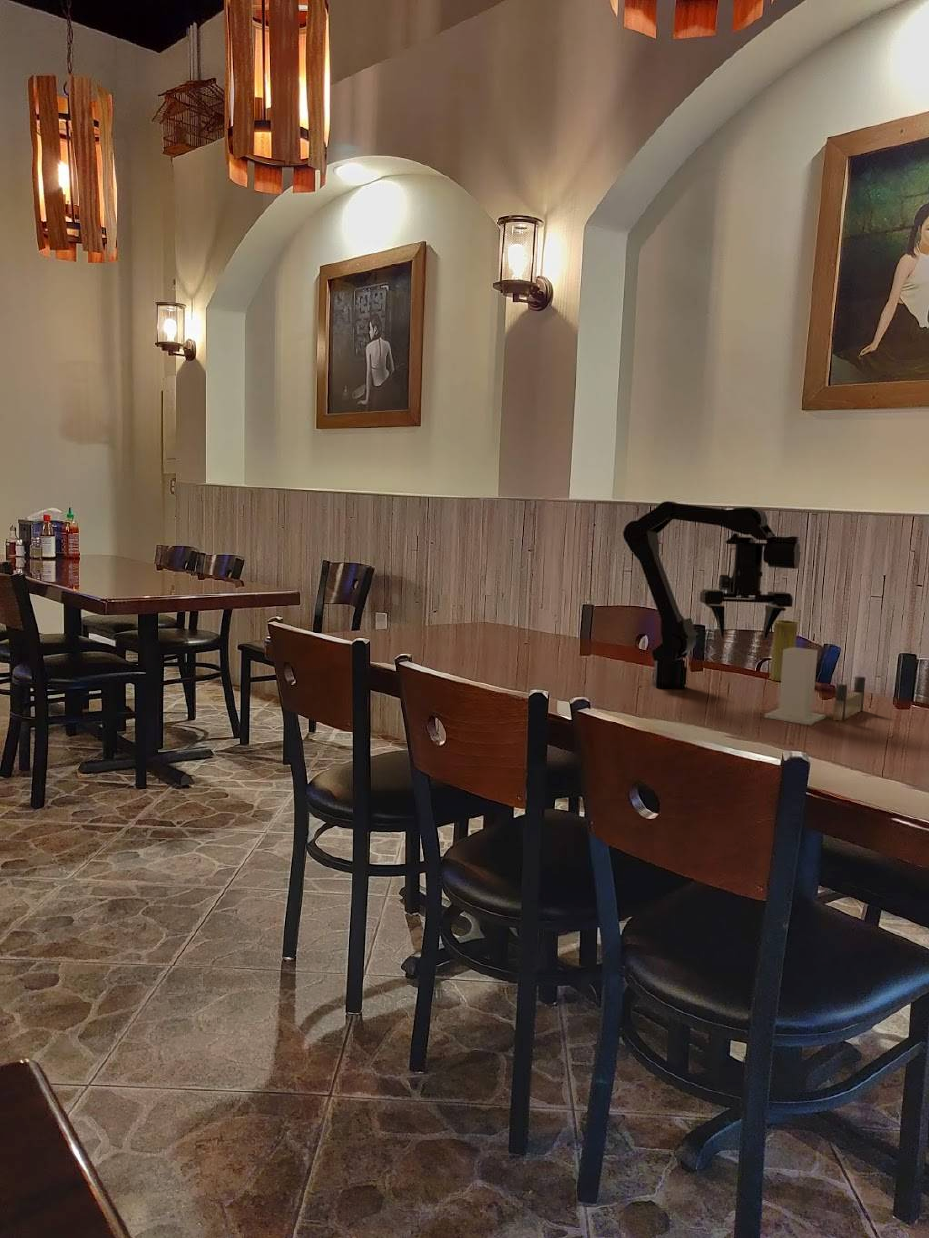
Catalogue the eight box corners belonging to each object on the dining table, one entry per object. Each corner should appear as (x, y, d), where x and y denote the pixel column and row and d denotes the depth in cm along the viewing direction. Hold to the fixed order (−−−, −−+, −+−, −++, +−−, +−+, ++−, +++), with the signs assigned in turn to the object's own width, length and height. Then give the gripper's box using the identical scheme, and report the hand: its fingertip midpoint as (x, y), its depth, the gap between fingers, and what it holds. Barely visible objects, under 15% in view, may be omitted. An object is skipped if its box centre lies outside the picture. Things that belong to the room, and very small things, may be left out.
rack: (832, 719, 184) (835, 684, 183) (853, 709, 195) (856, 676, 194) (842, 721, 183) (845, 686, 182) (863, 710, 194) (866, 677, 193)
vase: (796, 679, 228) (800, 621, 226) (793, 683, 223) (798, 623, 221) (770, 676, 231) (774, 619, 229) (767, 680, 225) (771, 621, 223)
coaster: (764, 717, 185) (764, 714, 184) (781, 710, 192) (781, 707, 191) (810, 725, 179) (810, 722, 179) (825, 717, 186) (825, 714, 186)
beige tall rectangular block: (778, 714, 185) (783, 649, 183) (787, 710, 189) (792, 647, 187) (803, 718, 182) (808, 652, 180) (812, 714, 186) (817, 650, 184)
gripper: (780, 565, 209) (775, 633, 211) (696, 562, 210) (692, 630, 212) (795, 568, 198) (790, 641, 200) (707, 565, 199) (703, 637, 201)
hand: (743, 637), depth 204 cm, fingers open, 9 cm apart
